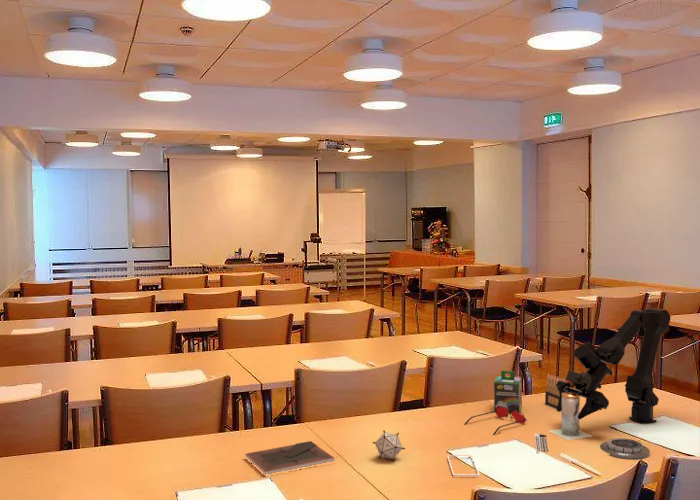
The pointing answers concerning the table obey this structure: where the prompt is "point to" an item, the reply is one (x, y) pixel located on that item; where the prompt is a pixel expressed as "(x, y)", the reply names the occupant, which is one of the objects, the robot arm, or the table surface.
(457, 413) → the table surface
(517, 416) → the glasses
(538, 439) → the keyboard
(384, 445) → the game die
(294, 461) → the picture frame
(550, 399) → the ammunition clip
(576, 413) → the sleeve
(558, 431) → the stand pad
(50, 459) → the table surface
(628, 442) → the hub flange
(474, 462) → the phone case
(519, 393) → the chalk box
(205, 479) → the table surface
